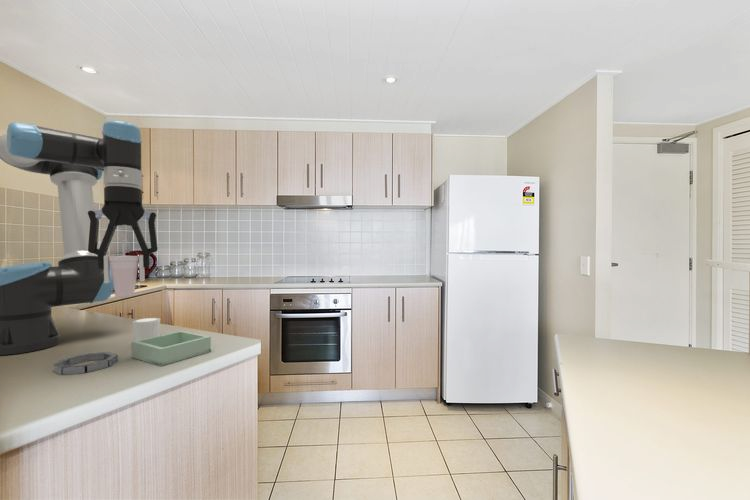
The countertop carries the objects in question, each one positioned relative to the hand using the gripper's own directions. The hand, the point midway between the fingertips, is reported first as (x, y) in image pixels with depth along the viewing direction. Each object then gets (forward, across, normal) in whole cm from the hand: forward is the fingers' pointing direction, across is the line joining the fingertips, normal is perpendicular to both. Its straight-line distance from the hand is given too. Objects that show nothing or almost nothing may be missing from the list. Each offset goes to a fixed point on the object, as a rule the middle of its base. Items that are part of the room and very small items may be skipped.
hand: (125, 281), depth 85 cm
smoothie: (+4, 0, 0) cm, 4 cm away
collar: (+20, -8, +1) cm, 21 cm away
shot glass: (+20, +3, +16) cm, 25 cm away
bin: (+20, +10, +1) cm, 22 cm away
